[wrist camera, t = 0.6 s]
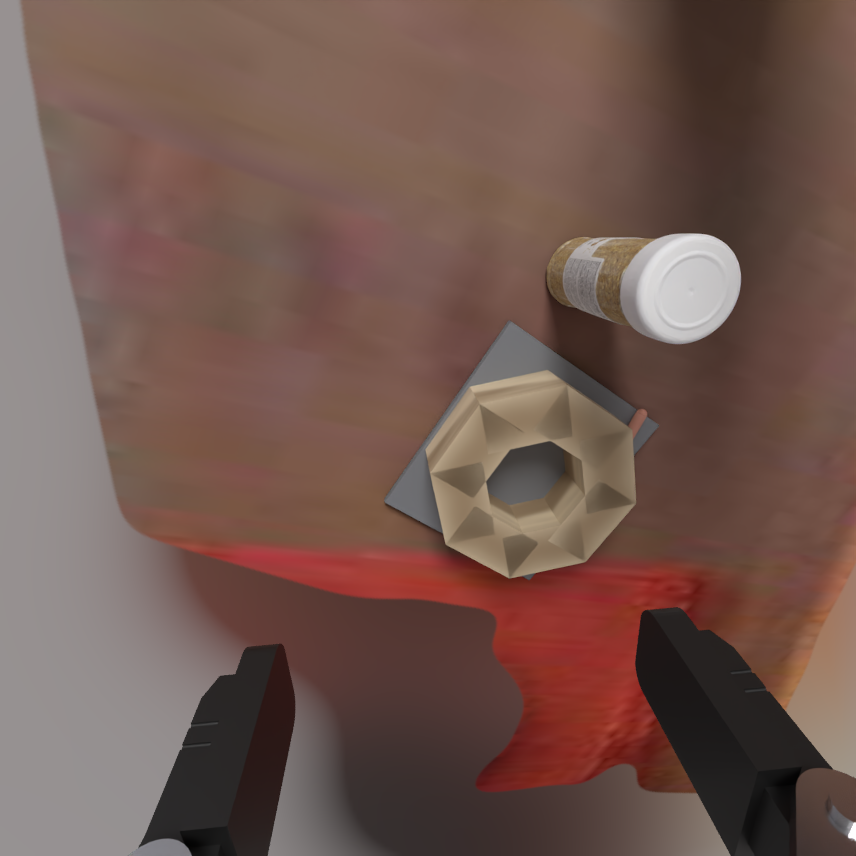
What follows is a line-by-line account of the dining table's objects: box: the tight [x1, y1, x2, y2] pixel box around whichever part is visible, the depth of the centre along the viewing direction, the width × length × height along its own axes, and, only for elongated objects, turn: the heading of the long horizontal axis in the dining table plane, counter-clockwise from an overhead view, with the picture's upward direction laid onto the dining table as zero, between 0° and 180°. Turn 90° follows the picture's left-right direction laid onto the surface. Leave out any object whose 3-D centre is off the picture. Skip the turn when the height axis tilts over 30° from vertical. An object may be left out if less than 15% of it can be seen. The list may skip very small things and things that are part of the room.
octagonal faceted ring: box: [425, 370, 636, 579], centre depth 35 cm, size 14×14×4 cm
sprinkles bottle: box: [547, 234, 741, 344], centre depth 27 cm, size 5×5×14 cm
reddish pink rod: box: [628, 409, 647, 439], centre depth 38 cm, size 13×1×1 cm, turn 156°
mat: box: [385, 321, 659, 580], centre depth 37 cm, size 16×14×1 cm
